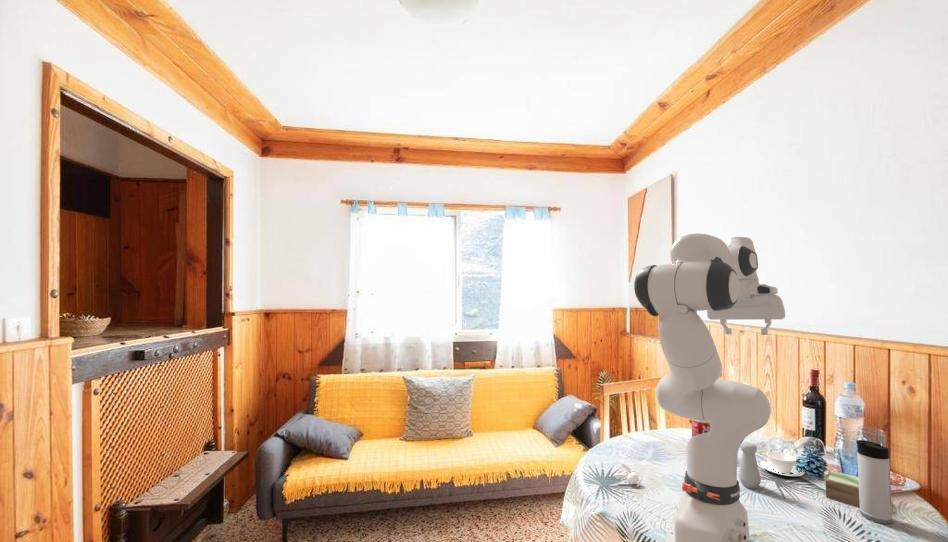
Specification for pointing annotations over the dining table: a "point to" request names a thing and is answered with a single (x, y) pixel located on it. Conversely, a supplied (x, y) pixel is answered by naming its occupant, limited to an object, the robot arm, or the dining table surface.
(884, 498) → the travel mug
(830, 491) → the stand
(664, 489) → the dining table surface
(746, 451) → the salt shaker
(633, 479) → the rabbit figurine
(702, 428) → the soda can
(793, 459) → the teacup
